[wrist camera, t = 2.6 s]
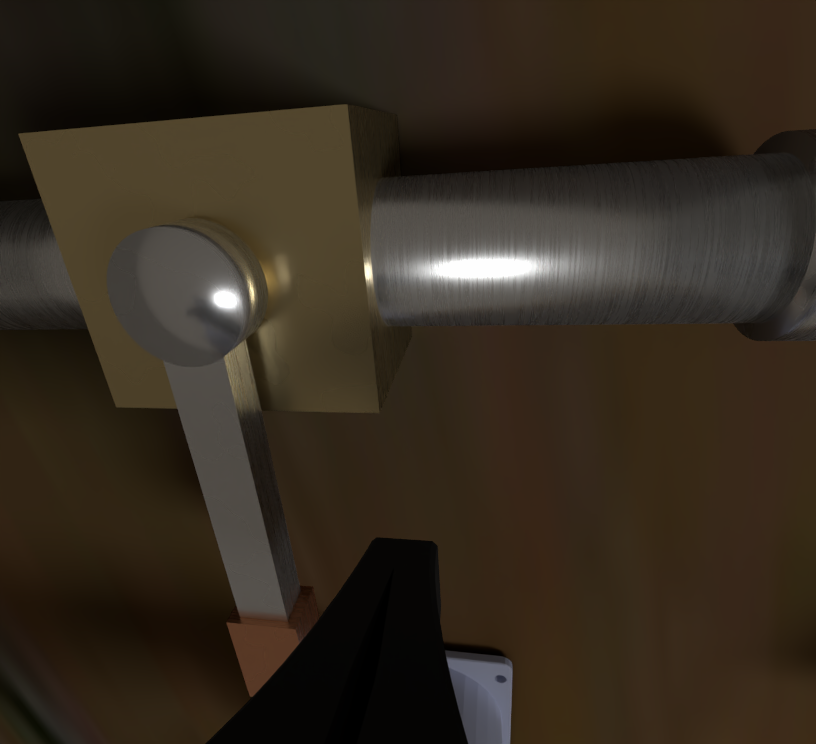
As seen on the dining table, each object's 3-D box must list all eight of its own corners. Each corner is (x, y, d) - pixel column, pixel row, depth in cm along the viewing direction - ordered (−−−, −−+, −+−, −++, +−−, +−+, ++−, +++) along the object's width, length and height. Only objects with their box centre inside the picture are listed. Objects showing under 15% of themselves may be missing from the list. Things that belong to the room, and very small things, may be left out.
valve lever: (132, 220, 10) (82, 231, 9) (255, 214, 10) (221, 225, 9) (257, 651, 16) (237, 694, 15) (340, 661, 16) (326, 706, 14)
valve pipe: (733, 334, 14) (839, 423, 10) (-14, 338, 19) (-171, 401, 14) (789, 82, 12) (969, 48, 7) (-96, 156, 16) (-321, 164, 12)
